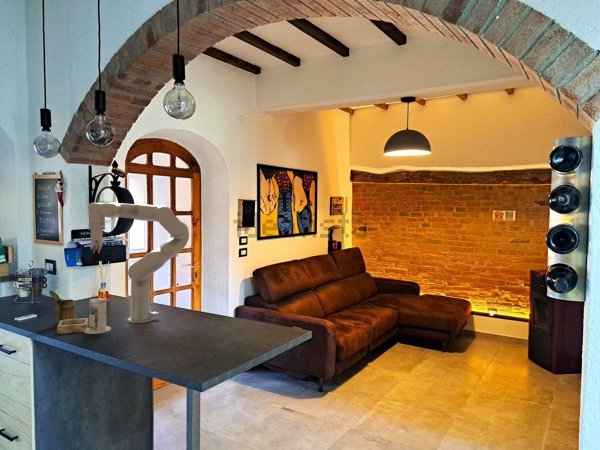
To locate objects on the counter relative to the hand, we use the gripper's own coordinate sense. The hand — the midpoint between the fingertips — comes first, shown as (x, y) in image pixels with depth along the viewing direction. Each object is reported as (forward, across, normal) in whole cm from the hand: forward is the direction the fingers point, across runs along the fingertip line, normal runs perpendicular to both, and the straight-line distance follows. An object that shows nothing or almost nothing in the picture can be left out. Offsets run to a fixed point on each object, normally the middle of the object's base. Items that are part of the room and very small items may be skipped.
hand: (97, 259), depth 225 cm
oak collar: (+32, +11, -10) cm, 36 cm away
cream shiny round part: (+32, +17, +1) cm, 36 cm away
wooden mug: (+32, -3, -16) cm, 36 cm away
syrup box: (+32, +17, +1) cm, 36 cm away
